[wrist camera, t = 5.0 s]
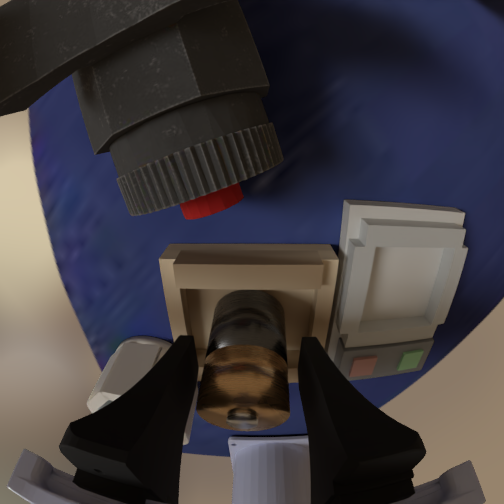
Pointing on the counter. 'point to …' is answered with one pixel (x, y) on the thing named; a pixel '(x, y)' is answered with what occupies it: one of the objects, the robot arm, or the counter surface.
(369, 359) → the cradle
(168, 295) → the tan square tray
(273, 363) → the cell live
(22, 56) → the laser sight
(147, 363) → the cup
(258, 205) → the counter surface
